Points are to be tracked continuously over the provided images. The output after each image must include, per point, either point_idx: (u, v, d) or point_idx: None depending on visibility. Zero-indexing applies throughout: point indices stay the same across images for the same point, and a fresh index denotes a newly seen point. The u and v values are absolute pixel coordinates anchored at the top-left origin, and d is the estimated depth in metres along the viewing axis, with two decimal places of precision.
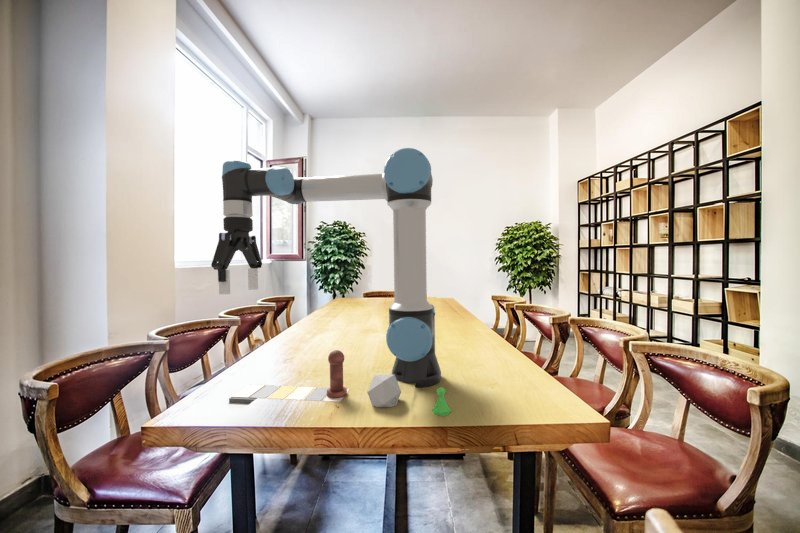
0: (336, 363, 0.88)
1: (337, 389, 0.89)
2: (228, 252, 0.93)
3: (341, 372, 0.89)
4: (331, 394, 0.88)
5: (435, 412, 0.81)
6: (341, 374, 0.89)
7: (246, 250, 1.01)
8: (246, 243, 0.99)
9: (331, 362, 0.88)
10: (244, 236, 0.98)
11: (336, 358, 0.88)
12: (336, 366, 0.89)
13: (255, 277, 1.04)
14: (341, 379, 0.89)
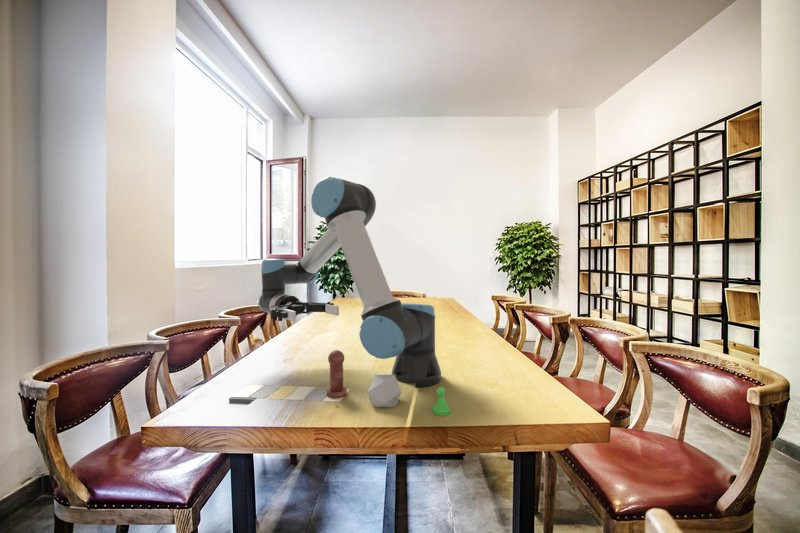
0: (336, 363, 0.88)
1: (337, 389, 0.89)
2: None
3: (341, 372, 0.89)
4: (331, 394, 0.88)
5: (435, 412, 0.81)
6: (341, 374, 0.89)
7: (307, 306, 1.08)
8: (299, 303, 1.08)
9: (331, 362, 0.88)
10: (295, 304, 1.10)
11: (336, 358, 0.88)
12: (336, 366, 0.89)
13: (330, 306, 1.04)
14: (341, 379, 0.89)
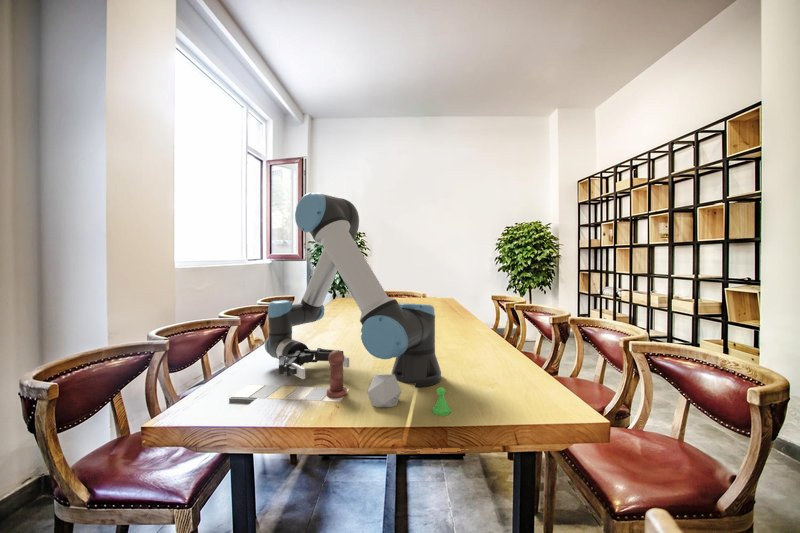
0: (336, 363, 0.88)
1: (337, 389, 0.89)
2: None
3: (341, 372, 0.89)
4: (331, 394, 0.88)
5: (435, 412, 0.81)
6: (341, 374, 0.89)
7: (315, 355, 1.04)
8: (307, 351, 1.04)
9: (331, 362, 0.88)
10: (304, 351, 1.06)
11: (336, 358, 0.88)
12: (336, 366, 0.89)
13: None
14: (341, 379, 0.89)
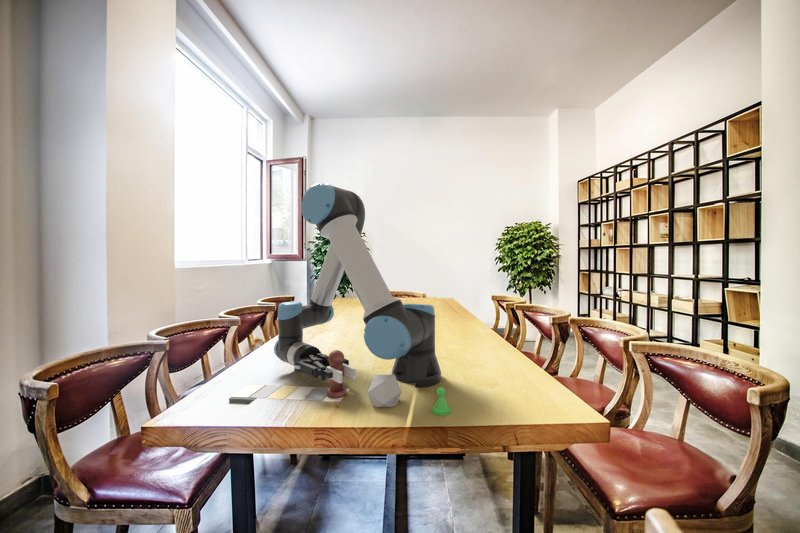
0: (336, 363, 0.88)
1: (337, 389, 0.89)
2: (315, 366, 0.93)
3: None
4: (331, 394, 0.88)
5: (435, 412, 0.81)
6: None
7: (324, 361, 0.97)
8: (319, 356, 0.99)
9: (331, 362, 0.88)
10: (316, 355, 1.01)
11: (336, 358, 0.88)
12: (336, 366, 0.89)
13: (345, 367, 0.90)
14: None
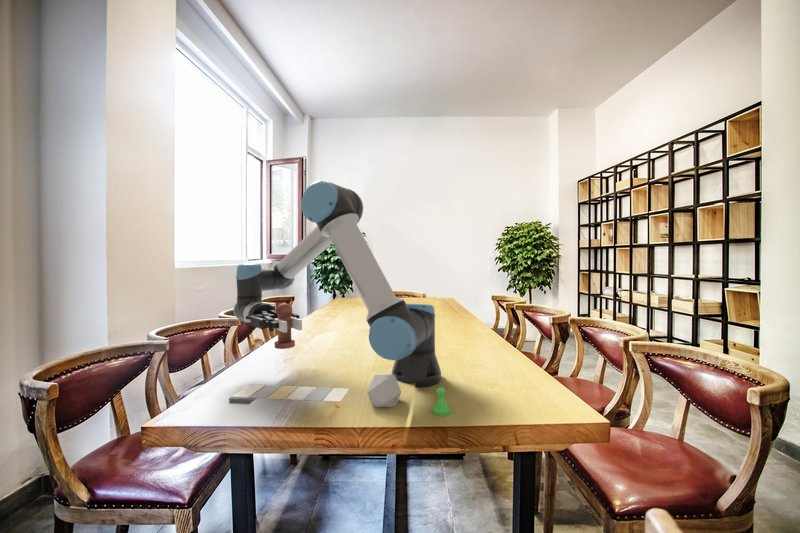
0: (283, 314, 0.90)
1: (284, 340, 0.91)
2: None
3: (288, 324, 0.91)
4: (278, 345, 0.90)
5: (435, 412, 0.81)
6: (288, 326, 0.91)
7: (276, 317, 0.99)
8: (272, 312, 1.00)
9: (278, 313, 0.90)
10: None
11: (283, 309, 0.90)
12: (283, 318, 0.90)
13: (293, 319, 0.92)
14: (288, 331, 0.91)
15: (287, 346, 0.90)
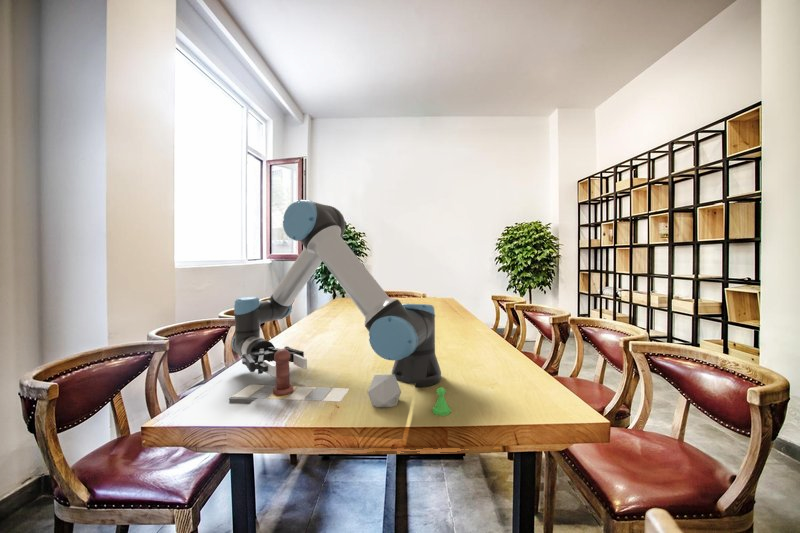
0: (281, 361, 0.90)
1: (282, 387, 0.91)
2: None
3: (287, 370, 0.91)
4: (276, 392, 0.90)
5: (435, 412, 0.81)
6: (287, 372, 0.91)
7: None
8: (271, 349, 1.01)
9: (276, 360, 0.90)
10: None
11: (281, 356, 0.90)
12: (281, 364, 0.91)
13: (297, 357, 0.94)
14: (287, 377, 0.91)
15: (285, 393, 0.90)
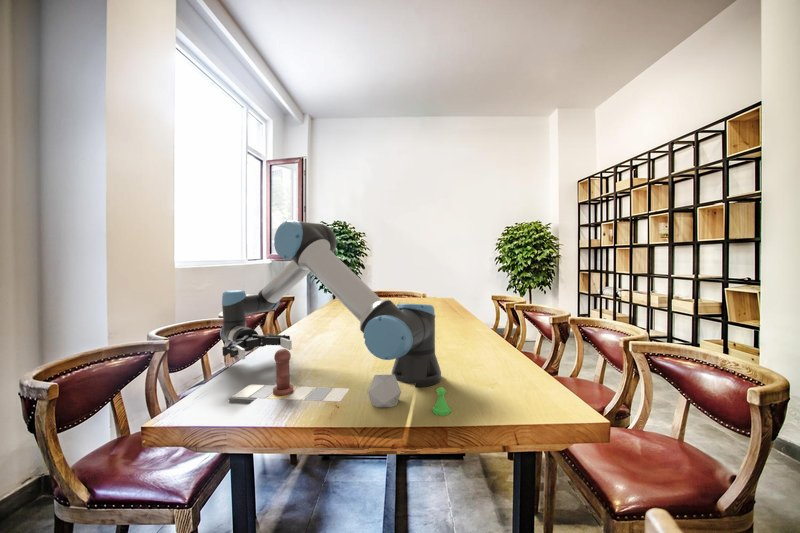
0: (281, 361, 0.90)
1: (282, 387, 0.91)
2: None
3: (287, 370, 0.92)
4: (276, 392, 0.90)
5: (435, 412, 0.81)
6: (287, 372, 0.92)
7: (263, 339, 1.10)
8: (255, 336, 1.11)
9: (276, 360, 0.91)
10: None
11: (281, 356, 0.90)
12: (281, 364, 0.91)
13: (284, 340, 1.07)
14: (287, 377, 0.92)
15: (285, 393, 0.90)
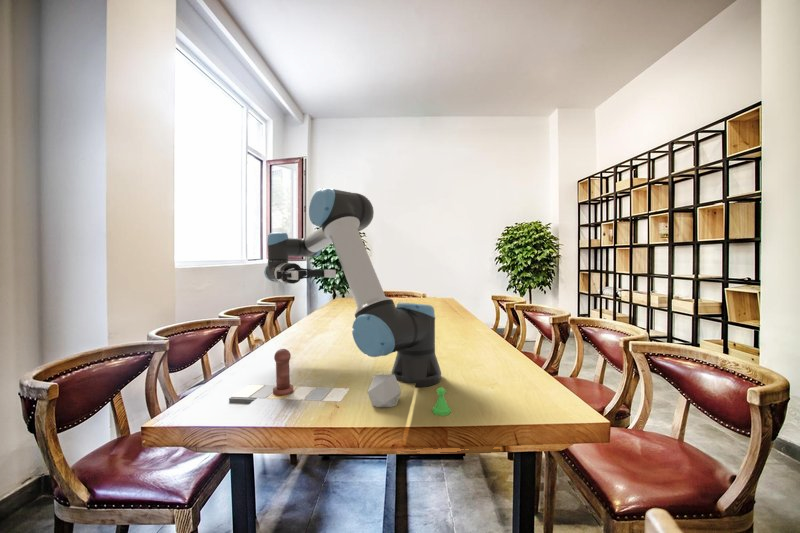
0: (281, 361, 0.90)
1: (282, 387, 0.91)
2: None
3: (287, 370, 0.92)
4: (276, 392, 0.90)
5: (435, 412, 0.81)
6: (287, 372, 0.92)
7: (308, 272, 1.22)
8: (301, 269, 1.23)
9: (276, 360, 0.90)
10: (298, 270, 1.24)
11: (281, 356, 0.90)
12: (281, 364, 0.91)
13: (328, 270, 1.19)
14: (287, 377, 0.92)
15: (285, 393, 0.90)
